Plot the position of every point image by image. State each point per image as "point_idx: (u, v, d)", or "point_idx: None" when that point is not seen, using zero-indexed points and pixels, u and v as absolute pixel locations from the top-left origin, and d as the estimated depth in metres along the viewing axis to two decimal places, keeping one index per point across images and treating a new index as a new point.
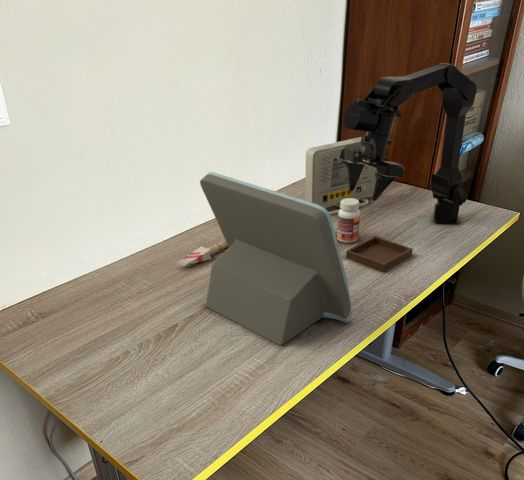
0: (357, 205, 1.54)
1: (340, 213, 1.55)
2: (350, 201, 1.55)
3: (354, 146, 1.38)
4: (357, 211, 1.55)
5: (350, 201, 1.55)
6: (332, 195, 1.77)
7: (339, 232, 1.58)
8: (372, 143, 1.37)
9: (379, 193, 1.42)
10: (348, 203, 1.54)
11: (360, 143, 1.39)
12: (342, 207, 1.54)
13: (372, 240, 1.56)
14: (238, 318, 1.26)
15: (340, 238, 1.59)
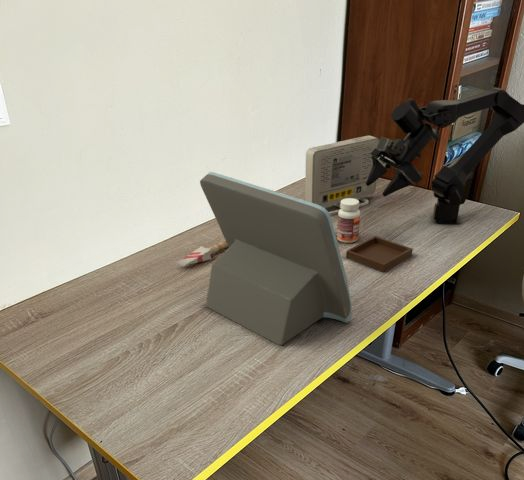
0: (357, 205, 1.54)
1: (340, 213, 1.55)
2: (350, 201, 1.55)
3: None
4: (357, 211, 1.55)
5: (350, 201, 1.55)
6: (332, 195, 1.77)
7: (339, 232, 1.58)
8: (405, 145, 1.49)
9: (390, 191, 1.51)
10: (348, 203, 1.54)
11: None
12: (342, 207, 1.54)
13: (372, 240, 1.56)
14: (238, 318, 1.26)
15: (340, 238, 1.59)
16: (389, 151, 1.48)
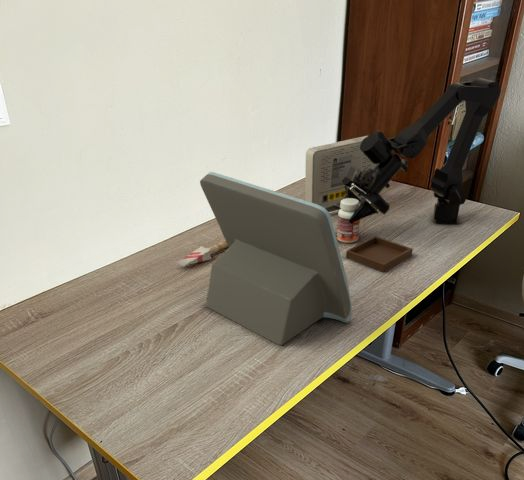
0: (357, 205, 1.54)
1: (340, 213, 1.55)
2: (350, 201, 1.55)
3: (358, 169, 1.51)
4: None
5: (350, 201, 1.55)
6: (332, 195, 1.77)
7: (339, 232, 1.58)
8: (374, 175, 1.50)
9: (357, 218, 1.54)
10: (348, 203, 1.54)
11: None
12: (342, 207, 1.54)
13: (372, 240, 1.56)
14: (238, 318, 1.26)
15: (340, 238, 1.59)
16: (357, 181, 1.49)
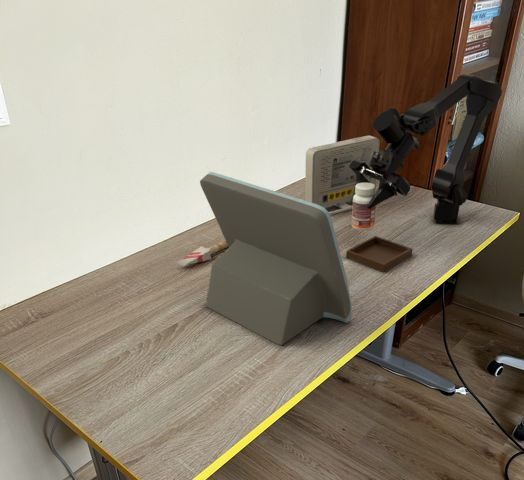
0: (374, 189, 1.45)
1: (356, 199, 1.46)
2: (366, 185, 1.45)
3: None
4: None
5: (365, 185, 1.46)
6: (332, 195, 1.77)
7: (355, 219, 1.49)
8: (389, 156, 1.42)
9: (375, 202, 1.45)
10: (364, 187, 1.44)
11: None
12: (359, 192, 1.45)
13: (372, 240, 1.56)
14: (238, 318, 1.26)
15: (357, 226, 1.49)
16: (375, 163, 1.40)
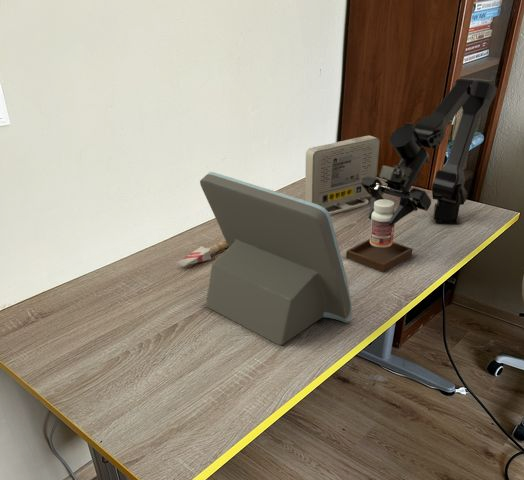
0: None
1: (377, 217, 1.42)
2: (385, 202, 1.42)
3: None
4: (393, 212, 1.44)
5: (384, 202, 1.43)
6: (332, 195, 1.77)
7: (376, 237, 1.45)
8: None
9: (397, 219, 1.42)
10: (384, 204, 1.41)
11: None
12: (379, 210, 1.41)
13: None
14: (238, 318, 1.26)
15: (377, 244, 1.46)
16: (396, 180, 1.38)
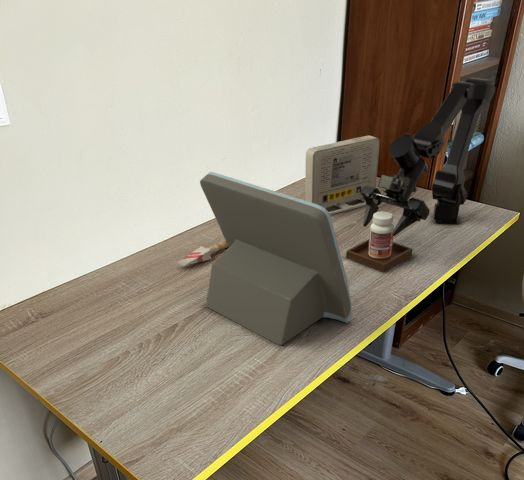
0: (392, 218, 1.44)
1: (376, 229, 1.44)
2: (384, 215, 1.44)
3: None
4: (391, 224, 1.46)
5: (382, 214, 1.45)
6: (332, 195, 1.77)
7: (375, 249, 1.47)
8: None
9: (400, 229, 1.43)
10: (383, 217, 1.43)
11: None
12: (378, 222, 1.43)
13: None
14: (238, 318, 1.26)
15: (376, 255, 1.48)
16: (395, 189, 1.39)
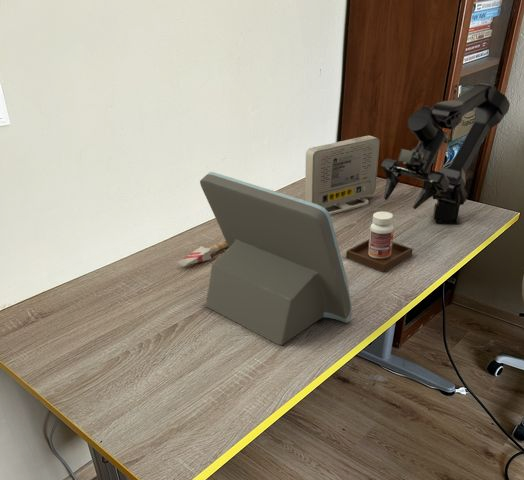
0: (392, 218, 1.44)
1: (376, 229, 1.44)
2: (384, 215, 1.44)
3: None
4: (391, 224, 1.46)
5: (382, 214, 1.45)
6: (332, 195, 1.77)
7: (375, 249, 1.47)
8: None
9: (420, 202, 1.46)
10: (383, 217, 1.43)
11: None
12: (378, 222, 1.43)
13: None
14: (238, 318, 1.26)
15: (376, 255, 1.48)
16: (415, 163, 1.42)
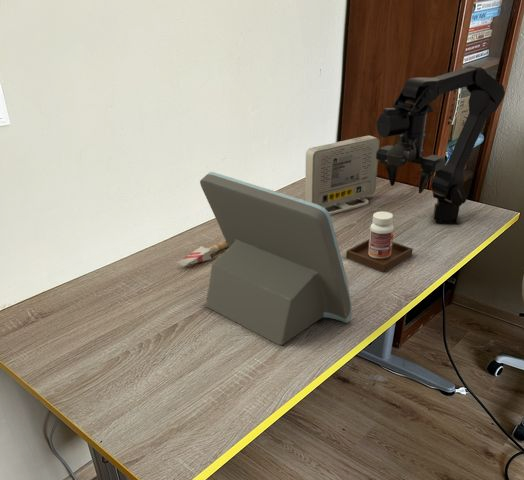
0: (392, 218, 1.44)
1: (376, 229, 1.44)
2: (384, 215, 1.44)
3: (395, 151, 1.46)
4: (391, 224, 1.46)
5: (382, 214, 1.45)
6: (332, 195, 1.77)
7: (375, 249, 1.47)
8: (411, 144, 1.45)
9: (424, 185, 1.52)
10: (383, 217, 1.43)
11: (399, 145, 1.47)
12: (378, 222, 1.43)
13: None
14: (238, 318, 1.26)
15: (376, 255, 1.48)
16: (404, 163, 1.46)
